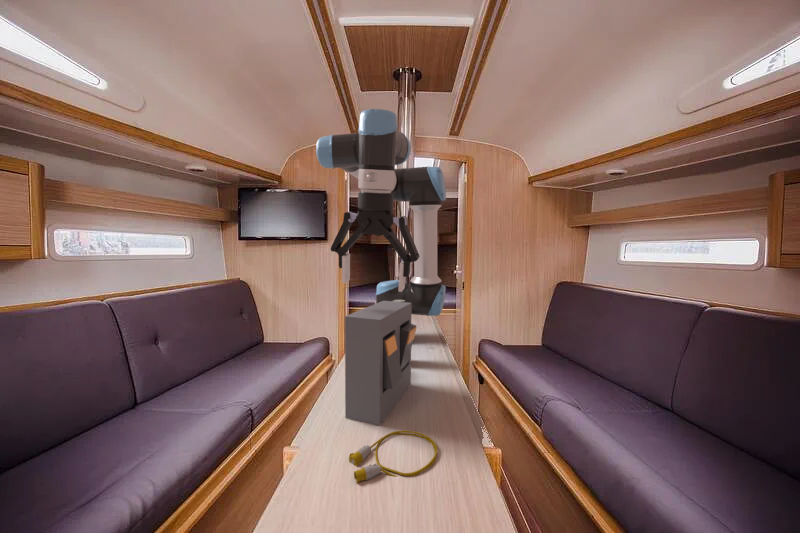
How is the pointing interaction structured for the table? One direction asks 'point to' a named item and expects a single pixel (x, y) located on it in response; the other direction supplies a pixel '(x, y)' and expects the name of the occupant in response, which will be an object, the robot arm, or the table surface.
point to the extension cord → (375, 469)
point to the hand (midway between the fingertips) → (373, 285)
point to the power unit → (373, 360)
